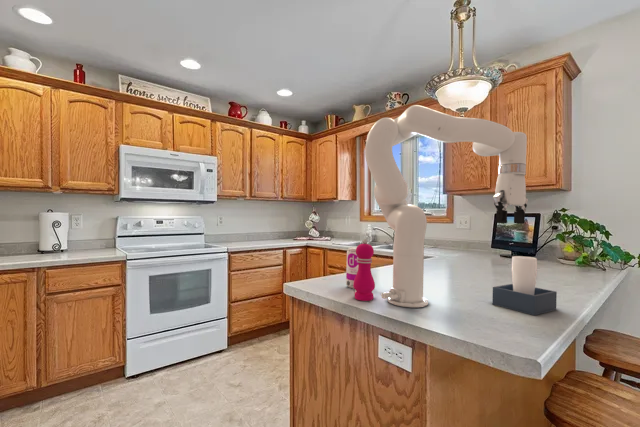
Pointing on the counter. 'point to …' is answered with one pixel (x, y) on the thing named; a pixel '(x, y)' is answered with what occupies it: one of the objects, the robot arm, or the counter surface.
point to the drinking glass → (524, 274)
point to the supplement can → (351, 266)
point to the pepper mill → (364, 272)
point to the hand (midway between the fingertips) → (510, 223)
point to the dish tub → (525, 300)
